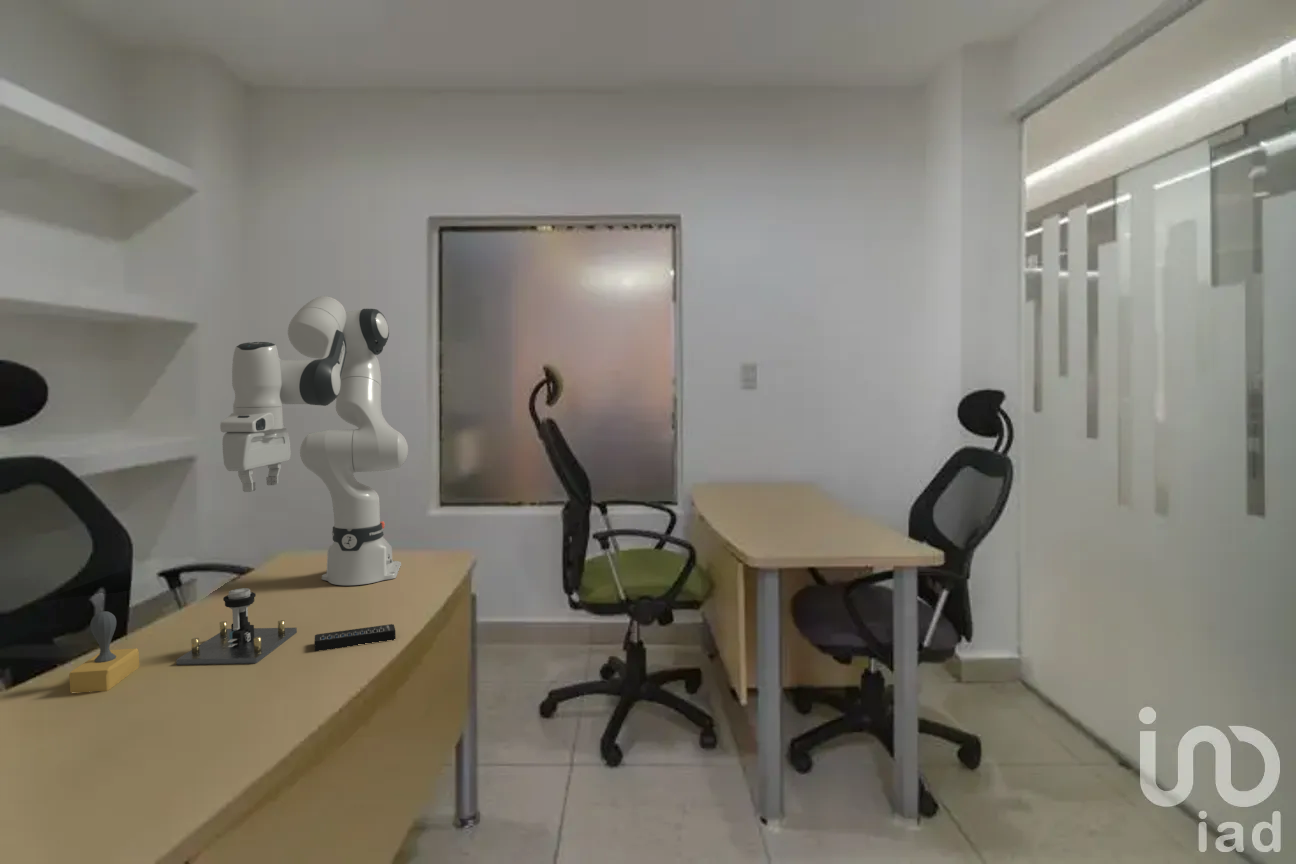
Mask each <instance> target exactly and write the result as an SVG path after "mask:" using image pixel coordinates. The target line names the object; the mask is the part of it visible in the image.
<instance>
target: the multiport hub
mask: <svg viewBox="0 0 1296 864" xmlns="http://www.w3.org/2000/svg"><path fill="white" fill-rule="evenodd" d="M396 633H397V632H396V627H395V625H394V624H393V623H391V624H384V625H383V624H382V625H377V626H376V625H375V626H368V627H361V628H360V627H359V628H354V629H345V630H339V631H332V632H330V631H329V632H325V633H316V634H315V635H314V641H313V642H314V652H320V651H319V650H323V651H328V650H327V649H330V650H336V649H335V648H337V649H342V647H343V648H348V647H347V646H350V647H354V646H353V645H357V646H359V645H358V644H364V645H366V644H365V643H371V644H373V643H372V642H378V643H380V642H379V641H385V642H388V641H387V640H392V641H395V640H394V639H396Z"/></svg>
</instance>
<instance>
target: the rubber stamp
mask: <svg viewBox="0 0 1296 864" xmlns="http://www.w3.org/2000/svg"><path fill="white" fill-rule="evenodd" d="M116 627H117V618H116V616H115V615H114V614H113V613H112V612H110V611H105V610H103V611H100V612H97V613H95V615H94V616H93V617H92V618H91V621H90V631H91V633H92V635H93V637H94V639H95V640H96V643H98V646H99V650H100V651H99V653H97V654H96V655H94V656H93V657H91V658H90V659H88V660H86V661H85V662H84V663H81V664H80V665H79V666H77V667H76V668H74V669H72V670H71V671H70V672H69V673H68V674H69V676H68V677H69V692H70V694H71V693H72V692H89V691H90V693H92V692H91V691H103V692H108V691H110V690H111V689H112V688H114V687H115V686H117V685H118V684H119V683H120V682H122V681H123V680H124V679H125V677H126V678H127V677H128V676H129V674H130V675H131V674H133V673H134V672H135V671H136V670H137V669H139V668H140V652H139V649H138V648H122V649H119V648H118V649H111V648H110V646H111V642H112V639H113V636H114V633H115V631H116ZM121 680H122V681H121ZM109 689H110V690H109Z"/></svg>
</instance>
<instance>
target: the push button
mask: <svg viewBox="0 0 1296 864" xmlns="http://www.w3.org/2000/svg"><path fill="white" fill-rule="evenodd" d="M255 597H256V592H253V591H251V589H250V588H247V587H246V588H245V587H243V588H236V589H232V590H229V591H228V594H227V595H225V596H224V597H223V601H224V606H225V607H226V608H229V609H230V610H232V623H231V625H230V627H231V628H230V629H232V630H231V631H232V632H230V633H229V636H230V641H228V642H230V646H228V647H233V646H241V645H242V644H244V643H245V642H249V641H250V640H251V639H253V638H254V628H255V625H254V624H251V622H250V621H249V612H248V610H249V609H248V607H250V606H251V605H253V604H254V602H255Z"/></svg>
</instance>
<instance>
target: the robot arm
mask: <svg viewBox="0 0 1296 864" xmlns="http://www.w3.org/2000/svg"><path fill="white" fill-rule="evenodd" d="M287 336H288V341H290V344H291V346H292V347H293V348H294V349H295V350H296V351H297V352H298V353H300V354H301V355H303V356H305V357H306V358H307V357H308V358H311V359H281V358H280V356H279V351H278V346H277V345H276V343H272V342H268V341H254V342H249V341H248V342H243V343H240V344H238V345H237V346H235V348H234V350H233V357H232V368H231V369H232V370H231V379H232V380H231V384H232V385H231V386H232V388H233V391H234V401H233V403H232V407H233V408H232V411H233V412H232V413H230V415H228V417H226V418H225V419H223V420H221V422H220V423H219V425H220V426H219V428H220V431H221V432H222V433H224V434H223V436H222V456H223V458H222V459H223V465H224V467H225V468H226V470H227V472H237V474H238V477H239V480H240V481H241V483H242V491H243V493H250V492H255V491H256V488H257V487H256V481H254V480H253V477H252V475H253V474H254V473H253V472H254V471H253V470H254V469H258V468H262V467H267V469H268V475H267V476H266V478H265V479H266V485H267V486H276V485H278V484H279V475H280V472H281V469H282V465H281V464H282V463H285V462H289V461H290V460H291V456H292V451H291V439H290V434H289V431H288V429H287V428H286V427H285V424H284V414H283V413H284V412H283V405H311V406H320V407H321V406H324V407H325V406H329V405H330V404H331V403H332V402H334V401H335V410H336V414H337V415H338V416H339V417H340V418H341V419H342V420H343V421H345V422H347V423H348V424H350V425H353V426H354V427H356V428H355V429H327V430H321V431H316V432H312V433H309V434H307V435H306V436H305V438H303V440H302V442H301V445H300V448H299V455H300V460H301V462H302V464H303V466H305V467H306V469H308V470H309V471H311V472H312V473H313V474H315V475H316V476H318V478H320V480H322V482H323V483H324V484H325V486H326V488H327V490H328V491H329V494H330V498H331V503H332V510H333V526H332V531H331V535H332V541H333V543H332V544H331V545H330V546H329V547H328V548H327V559H326V573H324V574H322V575H321V580H323V581H327V582H328V583H329V584H332V585H336V586H359V585H360V586H361V585H367V584H372V583H377V582H381V581H386V580H393V579H396V578H397V576H398V574H399V572H400V569H399V568H401V567H402V562H401V561H398V560H393V548H392V545H391V544H390V543H389V542H388V541H387V540H386V539H385V537H384V529H385V525H386V523H385V521H381V511H380V510H381V509H380V508H381V507H380V505H381V504H380V503H381V501H380V496H379V493H377V491H376V490H375V489H374V488H372V487H370V486H368V485H365V484H362V483H361V482H359V481H357V479H356V478H355V474H354V473H361V472H363V473H367V472H369V473H371V472H384V471H391V470H395V469H398V468H401V467H403V465H404V463H405V462H406V460H407V458H408V455H409V444H408V441H407V440H406V437H405V436H404V435H403V434H402V433H401V432H400V431H398V430H396V428H394V427H392V425H390V424H389V423H388V421H387V420H386V419H385V416H384V414H383V411H382V410H383V409H382V373H381V365H380V361H379V359H378V357H377V356H378V355H380V354H381V353H382V352H383V350H384V347H385V346H386V345H387V342H388V340H389V337H390V329H389V324H388V322H387V319H386V316H384V314H383V313H382V312H381V311H380V310H379V309H375V308H362V309H361V310H360V309H359V310H358V309H357V310H348V311H346V309H345V307H344V305H343V304H342V303H341V302H340V301H339V300H338V299H335V298H334V297H330V296H327V295H326V296H325V295H324V296H323V295H321V296H318V297H315V298H313V299H311V300H310V301H308V302H307V303H305V304H304V305H303V306H302V307H300V309H299V310H298V311H297V312H296V314H294V315H293V317H292V319H291V320H290V322H289V324H288V327H287ZM312 358H313V359H312ZM400 566H401V567H400ZM398 571H399V572H398Z"/></svg>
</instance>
